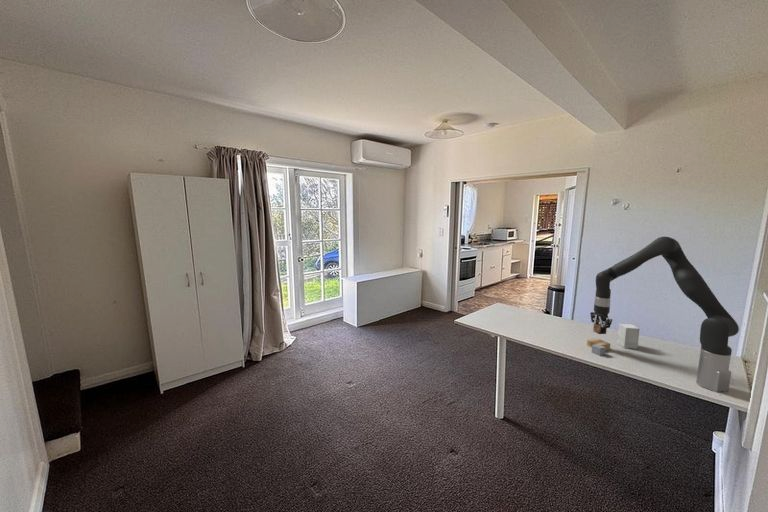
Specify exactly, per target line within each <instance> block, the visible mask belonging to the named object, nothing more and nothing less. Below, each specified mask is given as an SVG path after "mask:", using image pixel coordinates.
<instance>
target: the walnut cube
mask: <svg viewBox="0 0 768 512" xmlns="http://www.w3.org/2000/svg"><path fill="white" fill-rule="evenodd" d="M601 328H602V326H601V324H600V323H599V324H594V323H593V329H592V330H593V331H592V332H594V333H596V334H598V335H602V334H601ZM607 330H608V328H606V331H607ZM606 334H607V332H606V333H605V334H604V335H606Z"/></svg>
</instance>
